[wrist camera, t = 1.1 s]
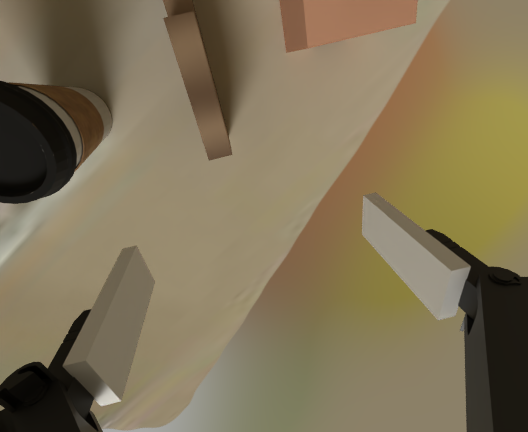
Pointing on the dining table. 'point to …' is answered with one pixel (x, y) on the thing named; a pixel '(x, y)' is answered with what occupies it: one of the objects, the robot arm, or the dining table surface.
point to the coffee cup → (46, 137)
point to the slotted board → (197, 76)
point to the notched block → (340, 19)
